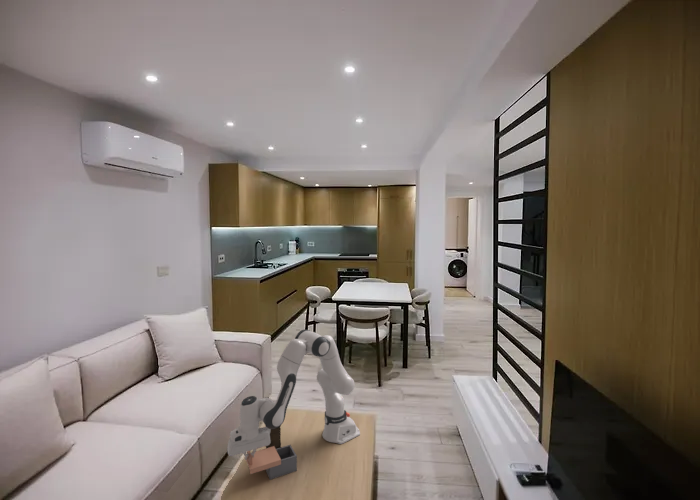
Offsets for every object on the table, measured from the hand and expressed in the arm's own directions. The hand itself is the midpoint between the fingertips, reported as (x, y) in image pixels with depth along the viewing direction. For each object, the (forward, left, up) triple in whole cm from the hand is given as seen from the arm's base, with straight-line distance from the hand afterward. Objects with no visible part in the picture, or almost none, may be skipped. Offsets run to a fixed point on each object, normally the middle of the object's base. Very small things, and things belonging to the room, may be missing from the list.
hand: (249, 457), depth 173 cm
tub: (-16, 0, -11) cm, 19 cm away
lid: (-7, 0, -4) cm, 8 cm away
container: (-16, -13, -11) cm, 23 cm away
